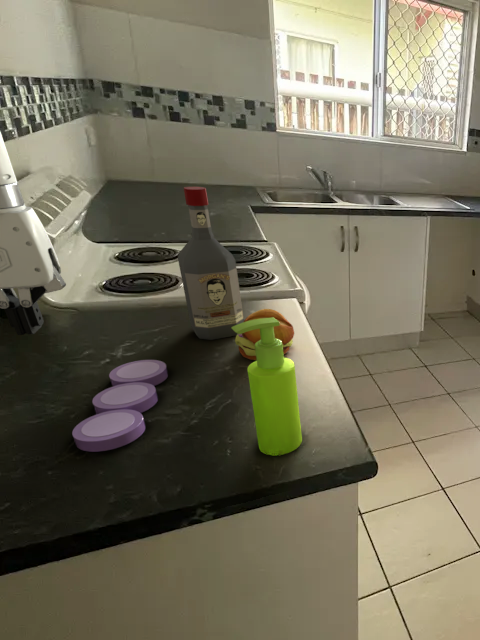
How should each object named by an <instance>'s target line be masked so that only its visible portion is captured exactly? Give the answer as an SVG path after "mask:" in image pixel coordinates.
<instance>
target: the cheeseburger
mask: <svg viewBox="0 0 480 640" xmlns="http://www.w3.org/2000/svg"><path fill="white" fill-rule="evenodd" d="M271 317H274V318H275V319H276V320H278V321H279V325H280V326H274V335H275V338H276V339H279V340H281V341H282V345H283V354H284V355H285V354H286V353H288V351H290V347H292V345H293V343H294V341H293V338H294V336H295V329H294V326H293V324H292V323H291V322H289V321H288V320H287V318H286V317H285V316H284V315H283V314H282V313H281V312H279V311H277V310H275V309H271V308H262V309H258V310H256V311H254V312H252V313H250V314H249V315H248V316H246V318H244V322H246V321H250V320H255V319H261V318H271ZM259 340H261V336H260V329H255V330H251V331H248V332H245V333H242V334H238V335H235V339H234V342H235V345H236V346H238V351H239V353H240V355H242V357H243V358H246V359H249V360H251V361H257V359H256V352H255V343H256V342H257V341H259Z"/></svg>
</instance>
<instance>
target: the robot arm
mask: <svg viewBox="0 0 480 640" xmlns="http://www.w3.org/2000/svg"><path fill="white" fill-rule="evenodd" d="M61 273H62V268H61V264H60V261H59V258H58V255H57V253H56V250H55V248H54V246H53V244H52V240H51V239H50V235H48V232H47V231H46V228H45V226H44V225H43V223H42V221H41V219H40V218H39V216H38V214H37V213H36V211H35V210H34V209H33V207H32V206H26V203H25V200H24V197H23V194H22V192H21V189H20V186H19V183H18V179H17V177H16V173H15V171H14V168H13V164H12V162H11V158H10V156H9V153H8V150H7V147H6V144H5V141H4V138H3V134H2V131H0V309H4V312H5V315H6V318H7V320H8V322H9V325H10V327H11V328H14V329H15V333H16V335H17V336H24V335H25V334H27V335H35V334H36V333H37V332H38V331H39V330H40V329H41V328H42V326H43V325H44V317H43V315H42V312H41V309H40V306H39V303H38V302H39V300H40V299H41V298H42V297H43V296H44V295H45V294H49V293H52V292H53V293H54V292H57V291H61V290H63V289H64V288H65V287H66V286H67V283H66V281H65V280H64V279H63V277H62V275H61ZM14 289H17V293H18V295H17V293H16V291H15V290H14Z"/></svg>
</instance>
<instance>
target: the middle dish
mask: <svg viewBox="0 0 480 640" xmlns="http://www.w3.org/2000/svg"><path fill="white" fill-rule="evenodd" d="M158 401H159V396H158V393H157V389H156V387H155V386H153V385H151V384H149V383H142V382H134V383H126V384H121V385H117V386H113V387H112V386H110V387H108V388H105V389H104V390H102V391H100V392H98V393H97V394H96V395H95V396H93V398H92V406H93V409H94V412H95V415H97V414H100V413H103V412H107V411H112V410H120V409H129V410H135V411H138V412H140V413H141V414H142V413H144V412H146V411H148V410H149V409H151V408H153V407H154V406H155V405H156V404H157V402H158Z"/></svg>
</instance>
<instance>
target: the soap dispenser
mask: <svg viewBox="0 0 480 640" xmlns="http://www.w3.org/2000/svg"><path fill="white" fill-rule="evenodd" d="M274 326H280V325H279V321H278V320H276V319H275V318H274V317H271V318H261V319H255V320H250V321H246V322H243V323H240V324H238V325H235V326H233V327H231V328H232V329H233V330H234V331H235V332H236V333H237V334H242V333H245V332H248V331H251V330H255V329H260V336H261V340H259V341H257V342H256V343H255V352H256V359H257V360H254V361H253V362H251V363H250V364H249V365H248V366H247V369H246V370H247V376H248V384H249V390H250V397H251V403H252V410H253V416H254V424H255V430H256V431H255V432H256V438H257V445H258V449H259V451H260V452H261V453H262V454H264V455H267V456H282V455H287V454H289V453H292V452H293V451H295V450H297V449H298V448H299V447H300V446H301V444H302V443H303V435H302V434H303V433H302V427H301V416H300V408H299V407H300V406H299V405H300V404H299V395H298V386H297V376H296V375H297V374H296V365H295V362H294V361H293V360H292V359H291V358H288V357H285V354H283V345H282V341H281V340H279V339H276V338H275V335H274Z"/></svg>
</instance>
